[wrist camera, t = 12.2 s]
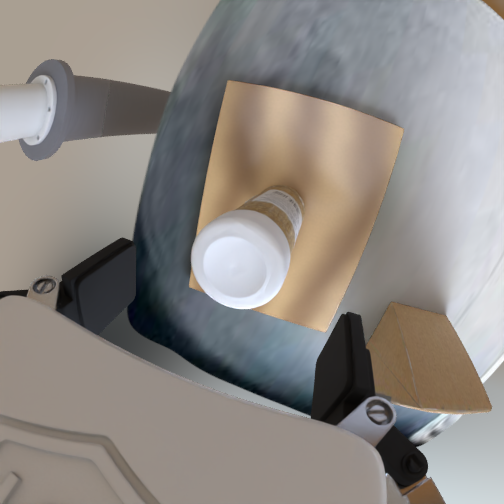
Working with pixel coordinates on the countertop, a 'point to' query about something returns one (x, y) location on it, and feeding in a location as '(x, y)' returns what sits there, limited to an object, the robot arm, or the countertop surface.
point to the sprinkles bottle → (249, 248)
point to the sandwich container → (424, 363)
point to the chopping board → (303, 186)
